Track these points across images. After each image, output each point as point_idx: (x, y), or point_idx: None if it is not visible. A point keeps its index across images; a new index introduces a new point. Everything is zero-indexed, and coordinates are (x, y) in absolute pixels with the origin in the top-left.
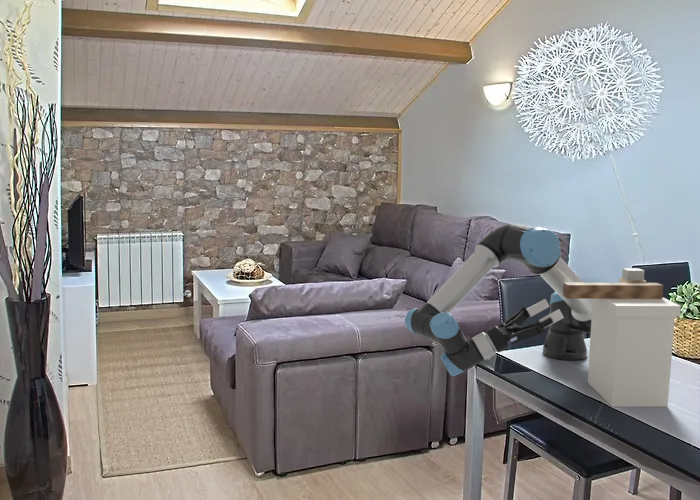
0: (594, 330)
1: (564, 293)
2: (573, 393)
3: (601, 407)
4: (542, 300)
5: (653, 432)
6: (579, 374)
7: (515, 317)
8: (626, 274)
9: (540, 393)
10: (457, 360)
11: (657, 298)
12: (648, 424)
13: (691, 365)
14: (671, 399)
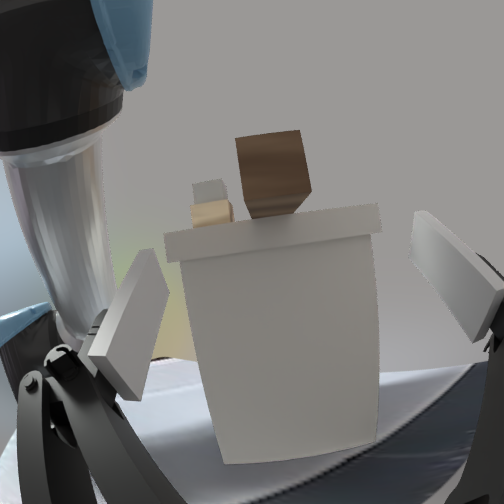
0: (221, 342)
1: (264, 182)
2: (301, 499)
3: (386, 454)
4: (140, 260)
5: (462, 391)
6: (167, 462)
7: (60, 477)
8: (215, 189)
9: None
10: None
11: None
12: (435, 399)
13: (180, 360)
14: None
